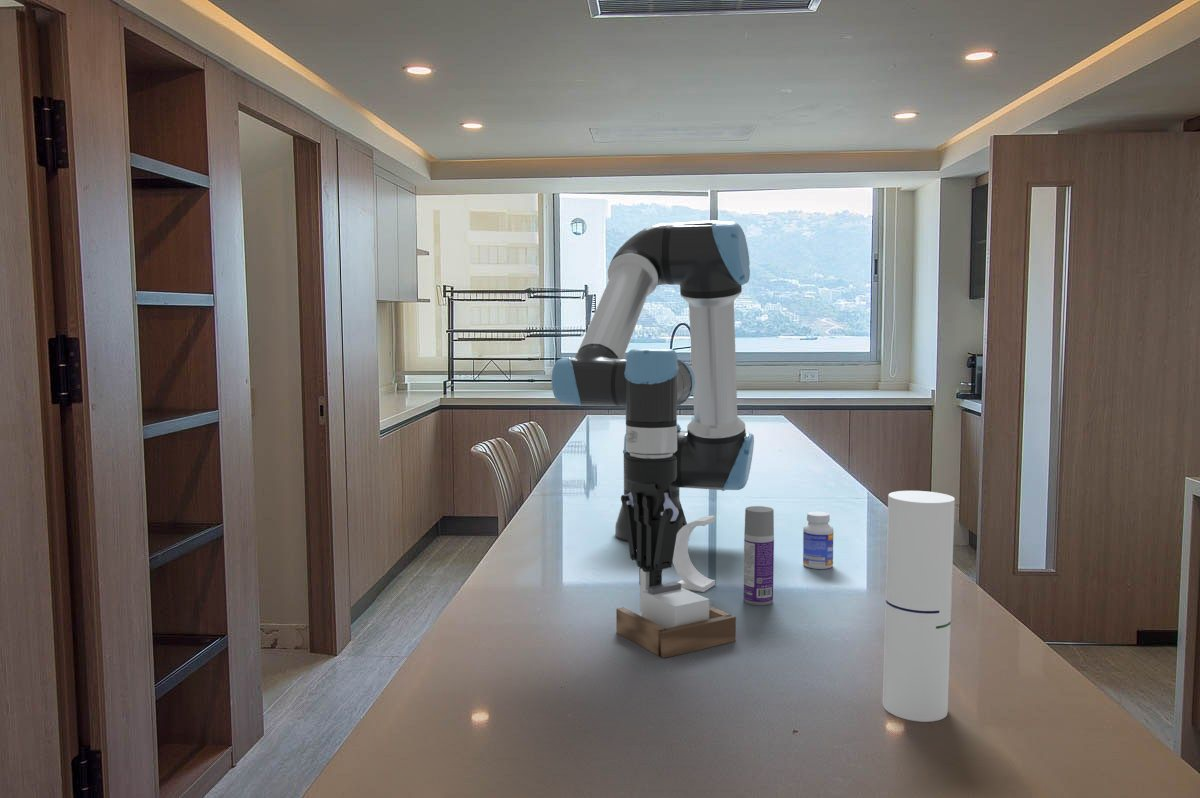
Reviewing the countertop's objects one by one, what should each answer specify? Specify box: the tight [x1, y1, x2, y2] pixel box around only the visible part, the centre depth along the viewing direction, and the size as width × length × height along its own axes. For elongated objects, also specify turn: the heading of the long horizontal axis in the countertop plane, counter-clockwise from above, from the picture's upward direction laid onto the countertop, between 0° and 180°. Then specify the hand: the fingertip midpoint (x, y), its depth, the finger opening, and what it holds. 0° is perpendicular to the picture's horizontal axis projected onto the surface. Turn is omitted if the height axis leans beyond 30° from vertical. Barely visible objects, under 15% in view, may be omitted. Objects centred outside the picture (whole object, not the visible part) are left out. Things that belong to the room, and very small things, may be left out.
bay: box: [615, 604, 737, 659], centre depth 128 cm, size 12×12×4 cm
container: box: [743, 505, 775, 606], centre depth 144 cm, size 5×5×15 cm
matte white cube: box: [641, 581, 710, 629], centre depth 128 cm, size 8×6×7 cm
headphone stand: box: [672, 515, 716, 593], centre depth 152 cm, size 5×6×12 cm
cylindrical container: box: [882, 490, 956, 723], centre depth 103 cm, size 7×7×25 cm
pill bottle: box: [802, 511, 834, 570], centre depth 164 cm, size 5×5×10 cm
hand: (650, 611), depth 133 cm, fingers closed
